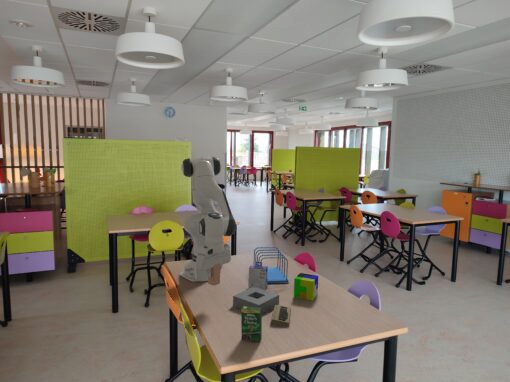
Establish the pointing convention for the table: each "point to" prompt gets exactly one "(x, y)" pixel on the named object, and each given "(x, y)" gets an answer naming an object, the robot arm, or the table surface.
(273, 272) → the file sorter
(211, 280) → the block
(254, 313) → the coffee box
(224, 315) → the table surface
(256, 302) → the holder
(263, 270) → the ink cartridge box
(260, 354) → the table surface
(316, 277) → the puzzle toy
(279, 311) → the computer
